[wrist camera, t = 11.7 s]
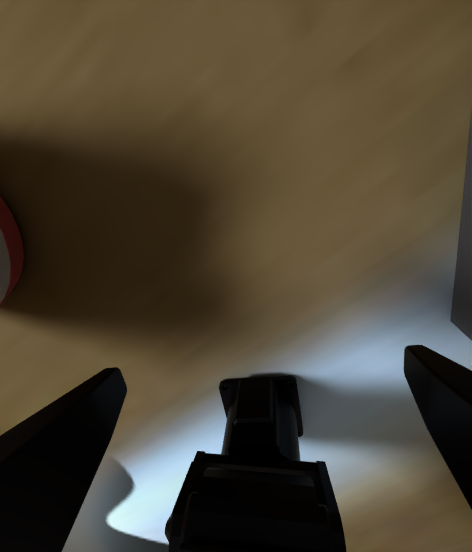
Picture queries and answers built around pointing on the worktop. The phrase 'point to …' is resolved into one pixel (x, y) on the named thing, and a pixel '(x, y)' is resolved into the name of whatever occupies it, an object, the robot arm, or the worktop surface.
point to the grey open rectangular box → (464, 256)
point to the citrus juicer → (9, 252)
